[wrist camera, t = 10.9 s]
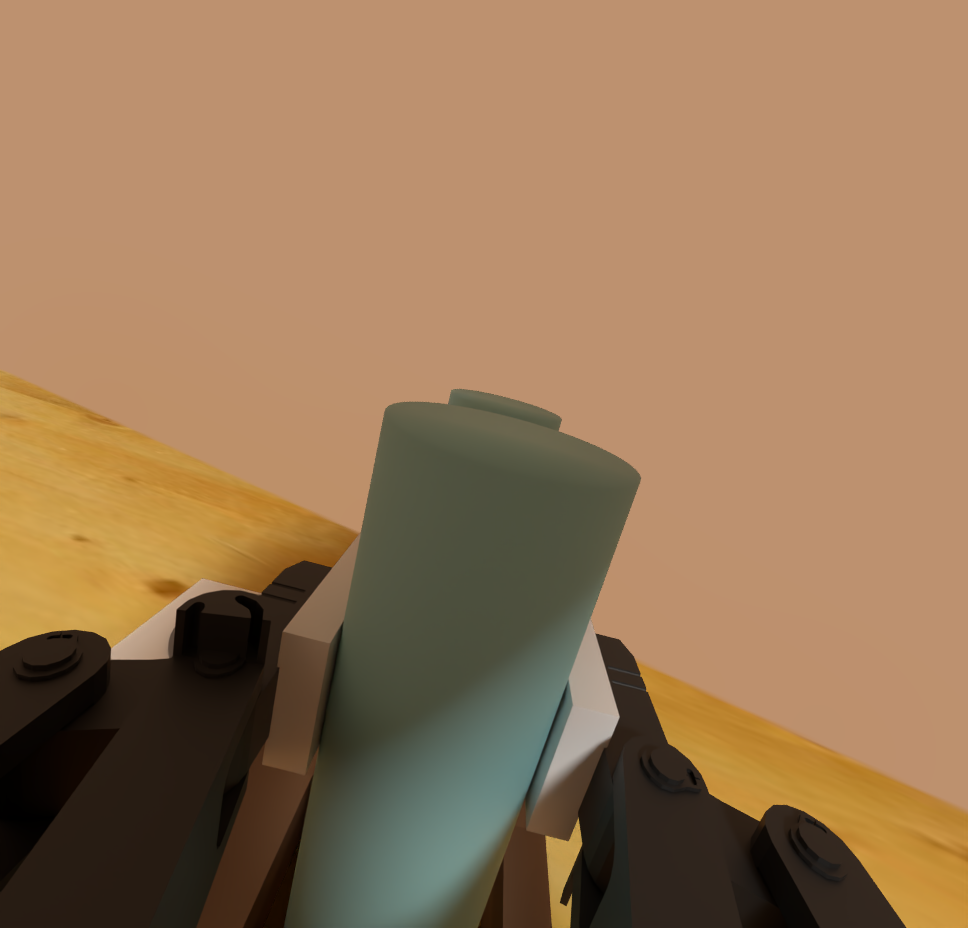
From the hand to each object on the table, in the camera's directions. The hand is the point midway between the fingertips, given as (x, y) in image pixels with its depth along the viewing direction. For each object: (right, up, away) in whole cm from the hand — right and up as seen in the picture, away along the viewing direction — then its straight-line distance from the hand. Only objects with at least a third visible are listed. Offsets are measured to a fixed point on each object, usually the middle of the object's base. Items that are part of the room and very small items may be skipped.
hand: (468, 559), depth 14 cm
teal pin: (-2, -8, -3) cm, 9 cm away
